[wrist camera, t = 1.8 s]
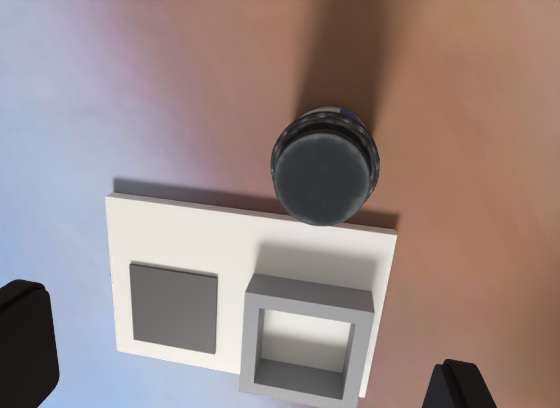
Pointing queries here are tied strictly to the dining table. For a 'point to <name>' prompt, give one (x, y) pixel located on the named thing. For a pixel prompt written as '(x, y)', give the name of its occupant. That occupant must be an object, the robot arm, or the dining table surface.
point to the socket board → (250, 295)
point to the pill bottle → (325, 166)
